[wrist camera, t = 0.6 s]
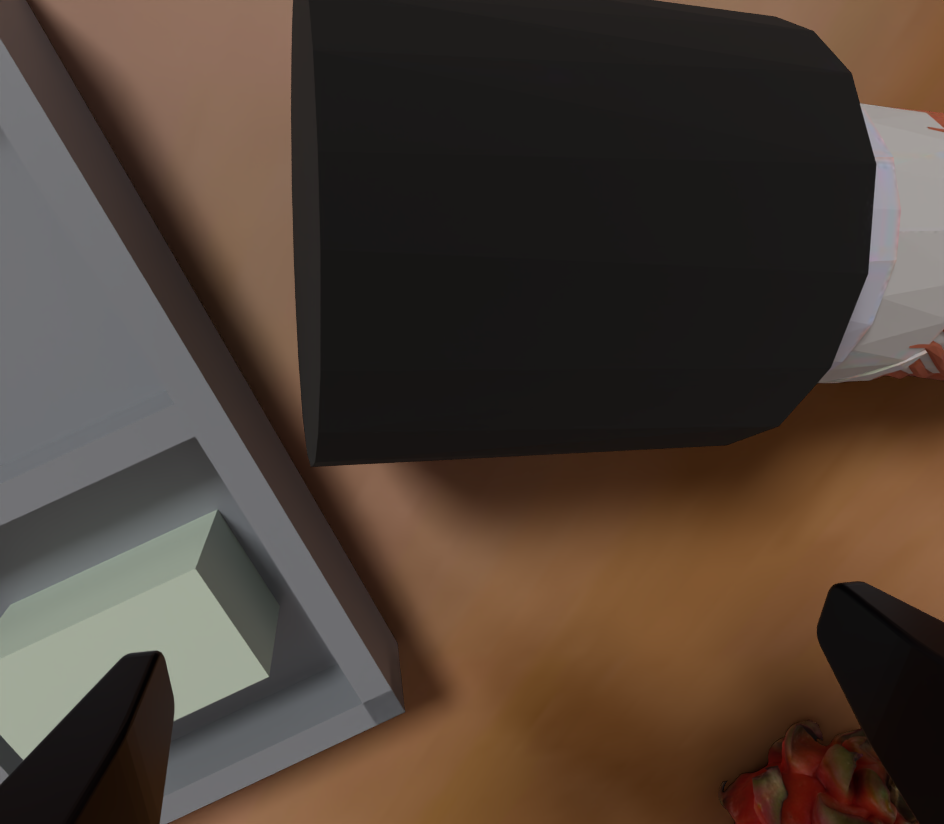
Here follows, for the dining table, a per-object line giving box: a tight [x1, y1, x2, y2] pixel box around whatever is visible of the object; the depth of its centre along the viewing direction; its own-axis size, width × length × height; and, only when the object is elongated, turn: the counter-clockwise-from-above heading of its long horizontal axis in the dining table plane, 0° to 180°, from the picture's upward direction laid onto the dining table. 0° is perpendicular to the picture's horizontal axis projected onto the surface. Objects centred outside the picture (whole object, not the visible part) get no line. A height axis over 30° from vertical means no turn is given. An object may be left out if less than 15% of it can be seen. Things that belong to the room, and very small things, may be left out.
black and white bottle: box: [291, 0, 944, 467], centre depth 20 cm, size 10×34×10 cm, turn 84°
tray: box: [0, 0, 405, 824], centre depth 19 cm, size 23×12×4 cm, turn 23°
